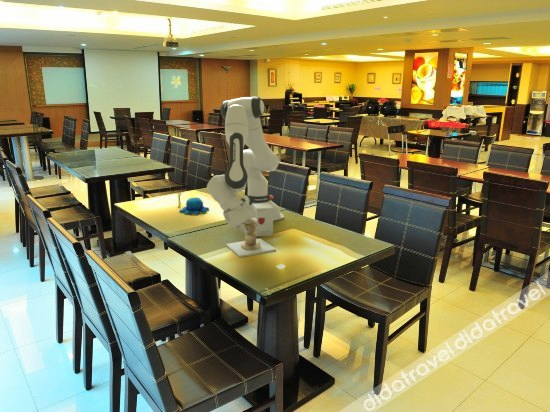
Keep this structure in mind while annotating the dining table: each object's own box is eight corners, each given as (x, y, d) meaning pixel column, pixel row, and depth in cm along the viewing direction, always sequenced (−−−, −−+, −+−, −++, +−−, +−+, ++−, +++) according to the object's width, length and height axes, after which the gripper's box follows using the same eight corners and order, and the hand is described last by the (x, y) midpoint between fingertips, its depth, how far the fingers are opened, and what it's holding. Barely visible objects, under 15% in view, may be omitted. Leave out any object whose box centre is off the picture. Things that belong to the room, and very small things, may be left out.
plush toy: (214, 211, 252) (214, 198, 250) (190, 217, 241) (189, 203, 239) (198, 206, 264) (198, 193, 262) (174, 211, 252) (174, 197, 250)
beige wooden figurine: (255, 242, 201) (255, 215, 197) (263, 248, 193) (263, 221, 189) (237, 244, 196) (237, 218, 193) (245, 251, 189) (245, 223, 185)
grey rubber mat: (260, 239, 206) (260, 238, 205) (275, 250, 192) (275, 249, 192) (226, 245, 198) (226, 243, 197) (239, 257, 184) (239, 255, 184)
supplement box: (255, 237, 209) (256, 208, 205) (252, 231, 218) (252, 203, 214) (273, 235, 212) (273, 207, 208) (268, 230, 220) (269, 202, 216)
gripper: (225, 207, 182) (246, 232, 181) (246, 197, 201) (265, 219, 200) (217, 216, 185) (237, 240, 184) (238, 205, 203) (256, 227, 203)
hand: (251, 229), depth 192 cm, fingers open, 8 cm apart
